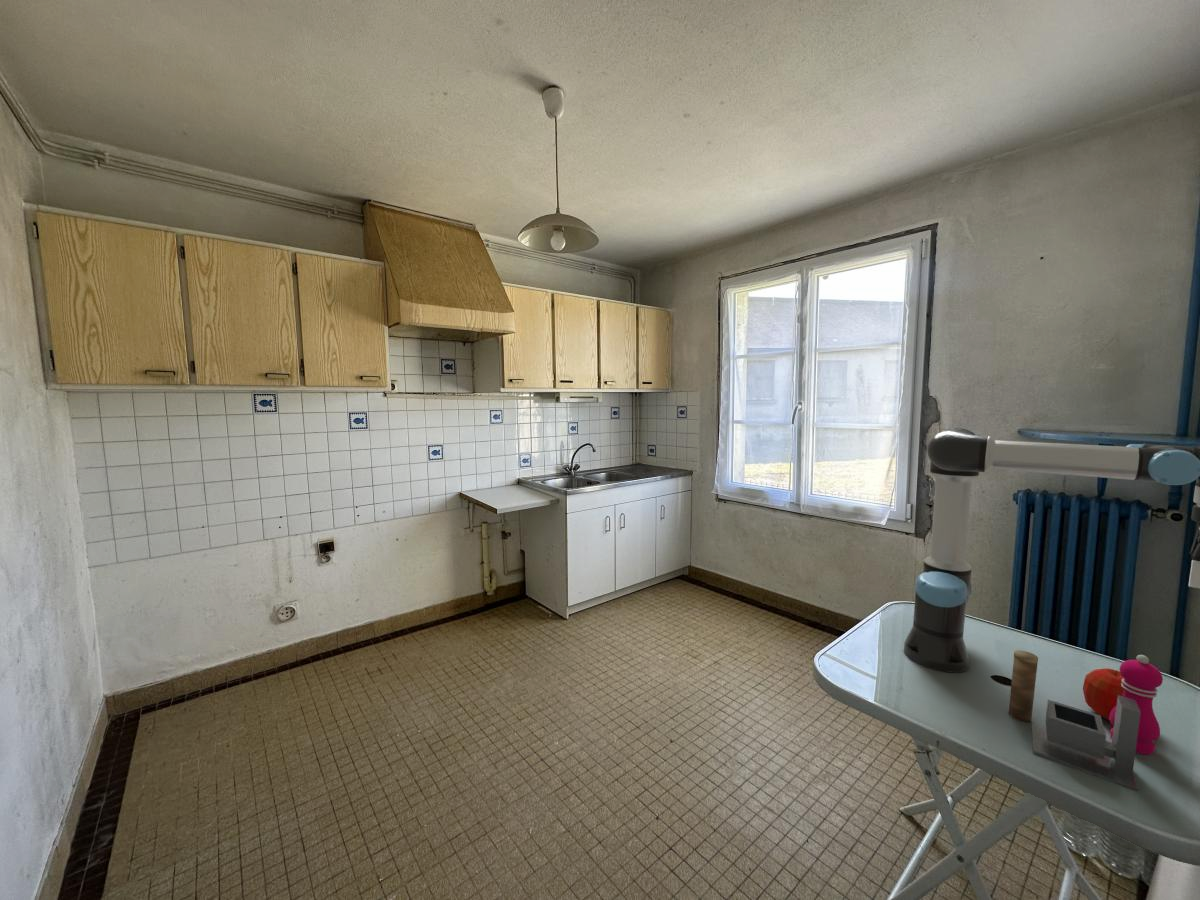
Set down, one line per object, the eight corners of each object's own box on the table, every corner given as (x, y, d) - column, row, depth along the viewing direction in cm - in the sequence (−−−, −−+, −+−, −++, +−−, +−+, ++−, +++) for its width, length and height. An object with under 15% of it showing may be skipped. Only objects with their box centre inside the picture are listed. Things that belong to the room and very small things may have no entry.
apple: (1072, 698, 117) (1077, 654, 116) (1129, 711, 113) (1135, 664, 112) (1090, 722, 109) (1096, 675, 107) (1153, 737, 104) (1160, 687, 103)
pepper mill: (1097, 733, 105) (1107, 647, 103) (1126, 731, 106) (1137, 645, 104) (1136, 757, 98) (1148, 665, 96) (1168, 755, 99) (1180, 664, 96)
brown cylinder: (1008, 717, 110) (1014, 655, 109) (1008, 708, 113) (1014, 648, 112) (1031, 725, 108) (1038, 661, 106) (1031, 716, 111) (1037, 654, 109)
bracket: (1033, 753, 99) (1040, 689, 98) (1031, 726, 107) (1037, 667, 106) (1136, 790, 90) (1146, 721, 88) (1126, 757, 98) (1134, 693, 96)
